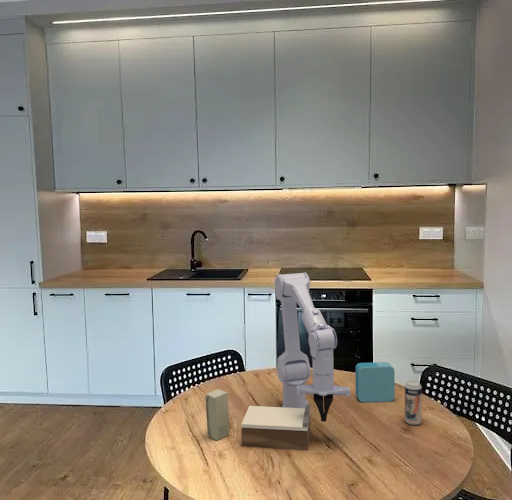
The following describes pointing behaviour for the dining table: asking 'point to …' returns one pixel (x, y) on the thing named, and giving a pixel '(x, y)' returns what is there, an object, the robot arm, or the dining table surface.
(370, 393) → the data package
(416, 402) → the beer can
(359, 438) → the dining table surface
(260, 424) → the lid
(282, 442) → the walnut box
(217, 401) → the box
